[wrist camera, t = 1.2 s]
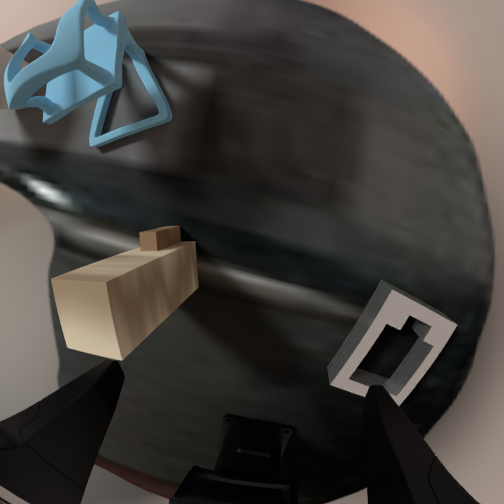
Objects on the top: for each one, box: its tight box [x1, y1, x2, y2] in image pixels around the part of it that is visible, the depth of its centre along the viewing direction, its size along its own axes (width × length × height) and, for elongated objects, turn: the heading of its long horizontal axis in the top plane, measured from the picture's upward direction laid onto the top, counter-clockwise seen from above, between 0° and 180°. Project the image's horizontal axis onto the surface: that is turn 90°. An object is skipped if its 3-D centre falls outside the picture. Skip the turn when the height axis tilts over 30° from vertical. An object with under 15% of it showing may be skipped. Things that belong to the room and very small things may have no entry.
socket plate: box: [327, 279, 457, 406], centre depth 19 cm, size 8×7×2 cm
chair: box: [4, 0, 173, 147], centre depth 13 cm, size 8×8×12 cm
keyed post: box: [51, 226, 199, 360], centre depth 16 cm, size 5×4×11 cm
